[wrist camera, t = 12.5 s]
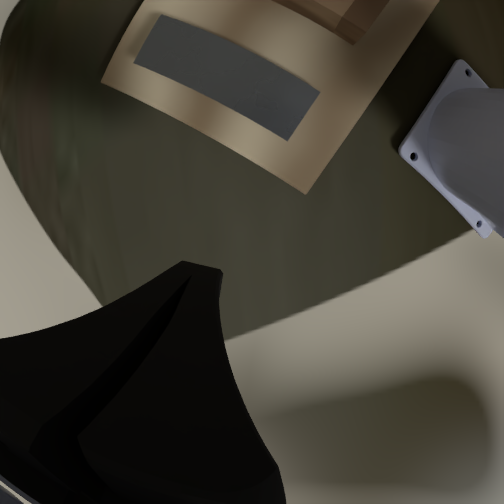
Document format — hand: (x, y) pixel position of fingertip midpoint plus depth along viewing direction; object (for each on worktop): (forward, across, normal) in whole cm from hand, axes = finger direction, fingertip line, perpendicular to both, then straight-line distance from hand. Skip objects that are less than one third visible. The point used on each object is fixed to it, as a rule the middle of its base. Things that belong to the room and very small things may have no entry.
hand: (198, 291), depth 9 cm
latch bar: (+8, +2, -7) cm, 11 cm away
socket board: (+9, 0, -12) cm, 16 cm away
